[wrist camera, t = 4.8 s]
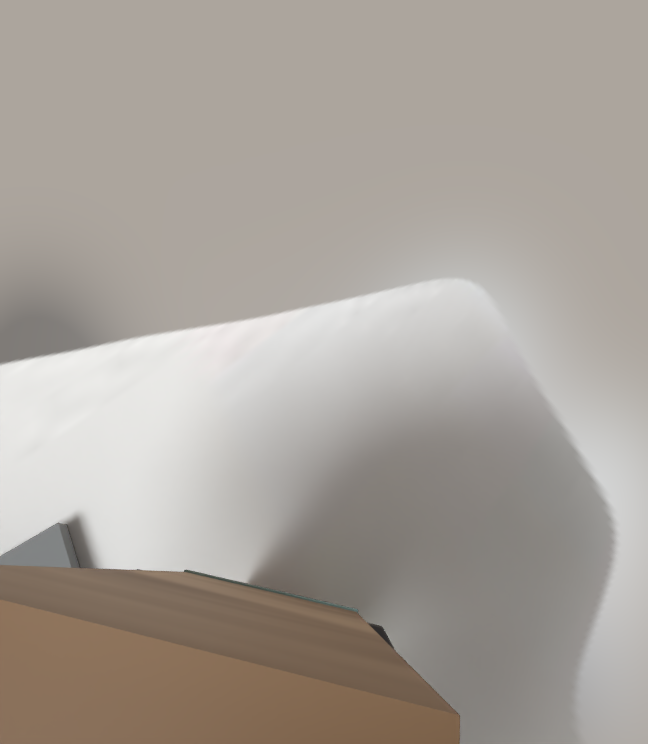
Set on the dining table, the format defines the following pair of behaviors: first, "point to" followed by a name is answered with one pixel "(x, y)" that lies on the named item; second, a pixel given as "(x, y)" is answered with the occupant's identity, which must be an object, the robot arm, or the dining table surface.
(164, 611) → the stub
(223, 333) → the dining table surface
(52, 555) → the coaster
